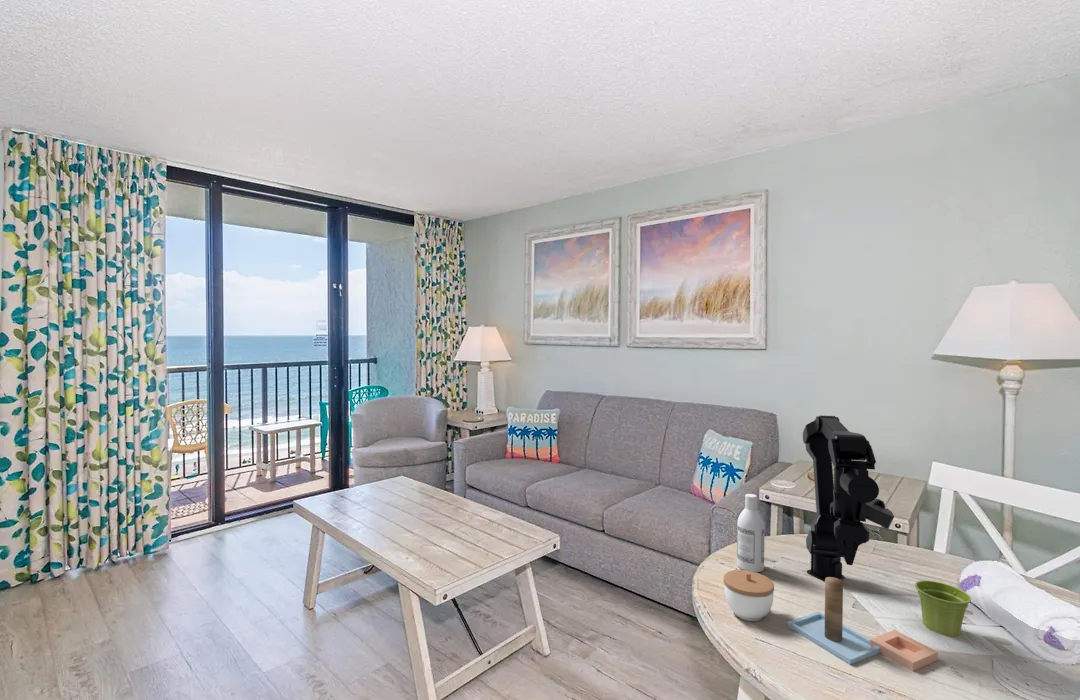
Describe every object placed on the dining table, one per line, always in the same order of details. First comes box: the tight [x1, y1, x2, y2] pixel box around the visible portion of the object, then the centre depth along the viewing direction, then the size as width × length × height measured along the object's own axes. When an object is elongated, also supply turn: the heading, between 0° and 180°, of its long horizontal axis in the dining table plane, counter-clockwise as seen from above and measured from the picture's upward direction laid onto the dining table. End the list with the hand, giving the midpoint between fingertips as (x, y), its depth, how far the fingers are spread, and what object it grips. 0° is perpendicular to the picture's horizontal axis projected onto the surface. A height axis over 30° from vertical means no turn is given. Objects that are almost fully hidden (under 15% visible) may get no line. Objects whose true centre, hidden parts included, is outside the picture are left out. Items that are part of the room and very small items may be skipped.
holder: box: [869, 629, 939, 672], centre depth 99 cm, size 8×8×2 cm
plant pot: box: [914, 579, 972, 637], centre depth 108 cm, size 9×9×9 cm
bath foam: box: [736, 493, 766, 573], centre depth 137 cm, size 7×7×20 cm
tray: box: [786, 611, 881, 666], centre depth 104 cm, size 14×10×2 cm
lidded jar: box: [723, 569, 775, 622], centre depth 114 cm, size 11×11×9 cm
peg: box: [824, 577, 844, 642], centre depth 104 cm, size 3×3×12 cm
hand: (847, 556), depth 115 cm, fingers open, 9 cm apart
